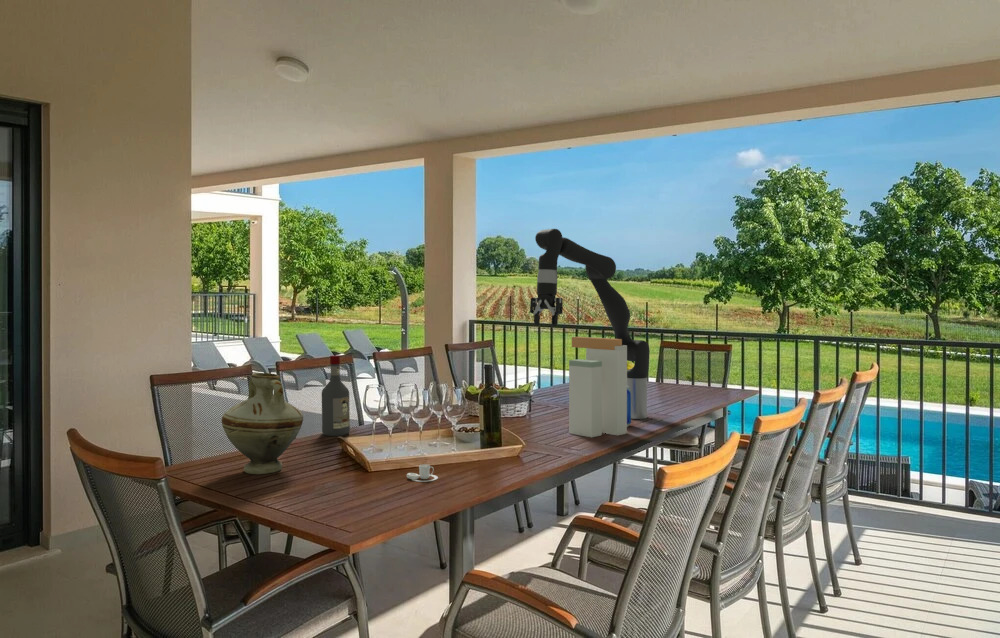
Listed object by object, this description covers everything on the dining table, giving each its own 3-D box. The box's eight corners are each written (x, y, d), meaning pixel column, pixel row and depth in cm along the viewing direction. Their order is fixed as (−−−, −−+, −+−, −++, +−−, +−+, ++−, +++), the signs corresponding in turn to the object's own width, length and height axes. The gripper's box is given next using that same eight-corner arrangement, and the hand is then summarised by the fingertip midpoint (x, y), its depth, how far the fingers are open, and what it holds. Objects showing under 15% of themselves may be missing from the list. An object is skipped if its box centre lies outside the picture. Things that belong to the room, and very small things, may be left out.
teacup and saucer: (403, 481, 209) (403, 467, 209) (416, 474, 217) (416, 461, 216) (430, 484, 206) (430, 470, 206) (442, 477, 214) (442, 463, 213)
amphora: (289, 482, 210) (299, 379, 211) (205, 477, 208) (215, 373, 209) (304, 467, 233) (313, 374, 234) (229, 461, 232) (238, 368, 232)
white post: (586, 430, 282) (586, 344, 281) (595, 428, 287) (595, 343, 285) (617, 435, 272) (617, 346, 270) (626, 433, 276) (626, 345, 274)
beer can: (630, 424, 295) (630, 384, 294) (631, 427, 287) (631, 387, 286) (609, 423, 296) (609, 384, 295) (610, 427, 287) (610, 387, 287)
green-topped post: (569, 433, 276) (569, 360, 275) (579, 431, 280) (579, 359, 279) (591, 437, 268) (591, 362, 267) (601, 435, 272) (601, 361, 271)
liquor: (318, 434, 276) (317, 356, 275) (334, 430, 284) (333, 354, 283) (337, 436, 272) (336, 357, 271) (353, 432, 280) (352, 355, 279)
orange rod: (571, 347, 288) (571, 337, 288) (577, 346, 291) (577, 336, 290) (616, 350, 272) (616, 339, 272) (621, 349, 275) (621, 339, 274)
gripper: (568, 282, 269) (566, 326, 269) (539, 283, 279) (537, 325, 279) (555, 281, 264) (553, 325, 264) (526, 281, 274) (524, 324, 274)
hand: (545, 325), depth 272 cm, fingers open, 8 cm apart
